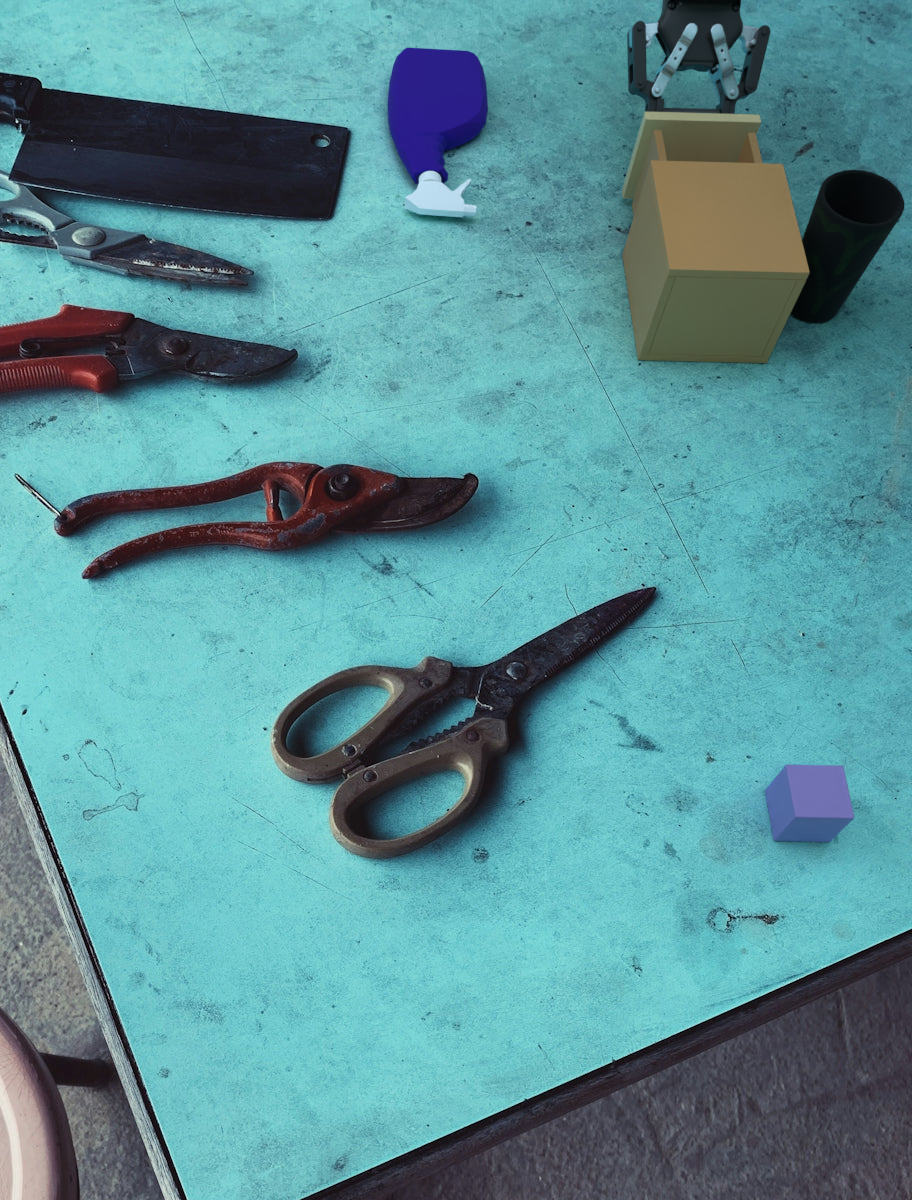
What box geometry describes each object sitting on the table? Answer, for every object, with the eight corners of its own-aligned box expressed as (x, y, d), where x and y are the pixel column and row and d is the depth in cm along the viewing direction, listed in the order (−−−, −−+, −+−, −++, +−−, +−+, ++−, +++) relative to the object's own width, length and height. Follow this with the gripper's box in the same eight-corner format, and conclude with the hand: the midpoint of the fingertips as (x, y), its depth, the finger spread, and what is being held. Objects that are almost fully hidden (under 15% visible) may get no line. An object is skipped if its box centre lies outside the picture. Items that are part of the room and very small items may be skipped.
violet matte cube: (820, 791, 96) (844, 765, 92) (830, 842, 94) (855, 818, 90) (764, 790, 96) (785, 764, 92) (773, 841, 94) (795, 817, 90)
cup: (808, 266, 122) (859, 158, 111) (864, 310, 120) (922, 204, 109) (755, 296, 120) (802, 189, 109) (811, 342, 117) (865, 237, 107)
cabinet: (622, 255, 122) (650, 159, 113) (744, 258, 122) (783, 163, 113) (637, 360, 116) (669, 269, 106) (766, 363, 116) (810, 272, 107)
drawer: (617, 163, 127) (639, 83, 119) (723, 166, 127) (753, 86, 119) (635, 282, 119) (660, 204, 111) (748, 285, 119) (782, 208, 112)
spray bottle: (390, 44, 132) (385, 197, 121) (489, 49, 132) (492, 203, 121) (388, 70, 134) (382, 222, 124) (485, 75, 134) (487, 228, 124)
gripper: (644, -66, 113) (626, 133, 118) (795, -61, 113) (769, 137, 119) (623, -38, 120) (607, 148, 126) (765, -34, 121) (742, 152, 126)
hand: (686, 142), depth 122 cm, fingers closed on drawer, 6 cm apart
